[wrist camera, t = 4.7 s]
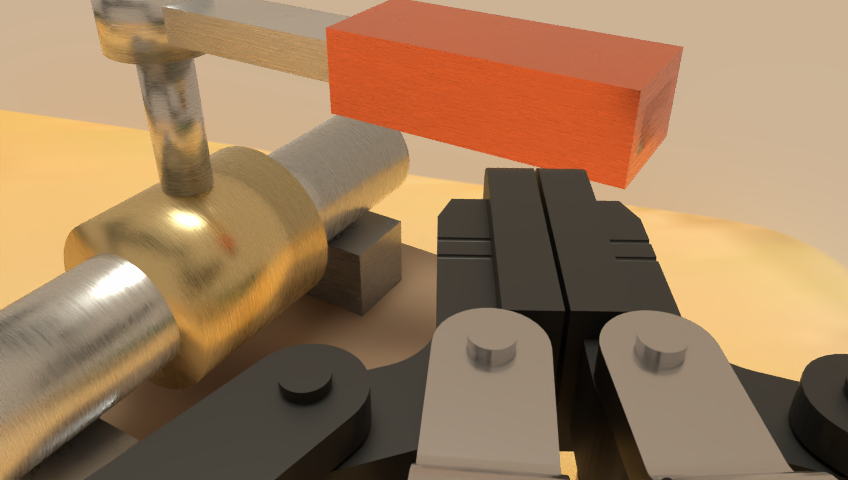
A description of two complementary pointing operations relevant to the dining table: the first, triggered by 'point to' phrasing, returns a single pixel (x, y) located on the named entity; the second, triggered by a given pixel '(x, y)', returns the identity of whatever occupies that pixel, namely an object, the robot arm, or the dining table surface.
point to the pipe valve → (190, 273)
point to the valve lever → (435, 73)
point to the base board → (306, 324)
